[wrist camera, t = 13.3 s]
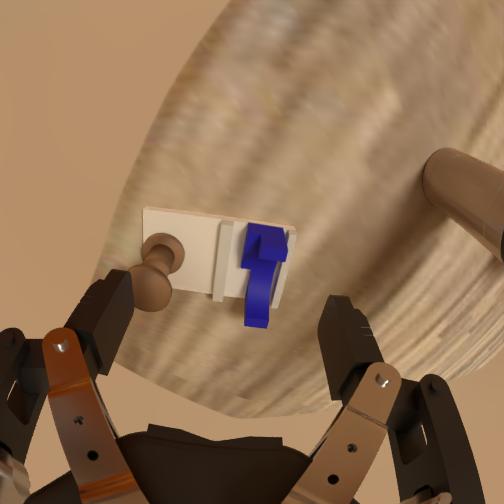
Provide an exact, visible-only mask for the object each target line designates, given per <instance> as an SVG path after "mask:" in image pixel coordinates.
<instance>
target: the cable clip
mask: <svg viewBox="0 0 504 504" xmlns="http://www.w3.org/2000/svg"><path fill="white" fill-rule="evenodd" d="M287 254H288V247H287V243H286V238H285V234H284V230H283V228H282V227H275V226H269V225H263V224H257V223H250V222H248V227H247V232H246V238H245V243H244V248H243V254H242V259H241V268H243V269H250V270H251V271H250V275H249V280H248V285H247V290H246V295H245V316H244V326H249V327H257V328H266V329H267V326H268V322H269V301H270V292H271V286H272V280H273V276H274V272H275V268H276V265H277V263H278V261H280V262H286V258H287Z"/></svg>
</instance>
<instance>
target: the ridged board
mask: <svg viewBox="0 0 504 504" xmlns="http://www.w3.org/2000/svg"><path fill="white" fill-rule="evenodd" d="M248 222H250V223H257V224H263V225H269V226H275V227H282V228H283V230H284V234H285V238H286V243H287V247H288V254H287V258H286V262H280V261H278V263H277V265H276V268H275V272H274V276H273V280H272V286H271V292H270V303H271V308H276V309H278V306H279V302H280V299H281V295H282V291H283V288H284V284H285V281H286V277H287V273H288V269H289V266H290V262H291V258H292V254H293V251H294V247H295V243H296V239H297V233H296V229H295V226H289V225H282V224H276V223H269V222H262V221H256V220H249V219H242V218H235V217H228V216H221V215H213V214H206V213H198V212H191V211H183V210H175V209H167V208H159V207H150V206H146V207H145V208H144V209H143V244H144V243H145V241H146V240H147V238H148V237H149V236H151V235H153V234H155V233H167V234H170V235H172V236H174V237H176V238H177V239H178V240H179V241H180V242H181V244H182V245H183V248H184V251H185V258H184V261H183V264H182V266H181V267H180V269H179V270H178V271H176V272H174V273H172V274H169V275H168V277H167V278H168V279H169V281H170V283H171V286H172V288H174V289H180V290H187V291H194V292H201V293H208V294H213V299H212V301H218V302H223V297H224V296H230V297H238V298H245V295H246V290H247V285H248V280H249V275H250V271H251V270H250V269H243V268H241V259H242V254H243V248H244V243H245V238H246V232H247V227H248Z"/></svg>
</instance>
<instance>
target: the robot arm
mask: <svg viewBox="0 0 504 504" xmlns="http://www.w3.org/2000/svg"><path fill="white" fill-rule="evenodd" d="M423 189H424V192H425V195H426V197H427V199H428V200H429V201H430V202H431V203H432V204H433V205H435V206H436V207H437V208H439V209H440V210H441V211H442V212H444V213H445V214H446V215H447V216H449V217H450V218H451V219H453V220H454V221H455V222H456V223H457V224H459V225H460V226H461V227H462V228H464V229H465V230H466V231H467V232H468V233H470V234H471V235H472V236H473V237H474V238H475V239H477V240H478V241H479V242H480V243H481V244H482V245H483V246H484V247H486V248H487V249H488V250H489V251H490V252H491V253H492V254H493V255H494V256H496V257H497V258H498V259H499V260H500V261H501V262H502V263H503V264H504V171H502V170H500V169H498V168H496V167H494V166H492V165H490V164H487V163H485V162H483V161H481V160H479V159H476V158H474V157H472V156H470V155H467V154H465V153H463V152H460V151H458V150H455V149H452V148H443V149H441V150H438V151H437V152H436V153H434V154H433V155H432V156H431V158H430V159H429V161H428V162H427V164H426V167H425V169H424V174H423ZM134 305H135V302H134V294H133V286H132V277H131V273H130V272H129V271H124V270H117V269H112V270H111V271H110V272H109V274H108V275H107V276H106V278H105V280H101V279H99V280H98V281H96V282H95V283H93V284H92V285H91V286H90V287H89V288H88V290H87V291H86V293H85V294H84V296H83V297H82V299H81V300H80V303H78V305H77V306H76V308H75V309H74V311H73V313H72V314H71V316H70V317H69V319H68V321H67V322H66V324H65V325H64V327H62V328H56V329H53V330H51V331H50V332H49V333H47V334H46V336H45V337H44V339H26V338H25V336H24V334H23V332H22V331H21V330H19V329H17V328H8V329H5V330H3V331H2V332H0V504H360V503H359V502H357V501H356V500H355V499H354V498H353V497H354V495H355V494H356V492H357V490H358V488H359V487H360V485H361V483H362V481H363V480H364V478H365V476H366V474H367V472H368V470H369V468H370V466H371V465H372V463H373V460H374V459H375V457H376V455H377V452H378V450H379V448H380V446H381V444H382V442H383V440H384V437H385V435H386V433H387V431H388V436H389V441H390V445H391V450H392V455H393V461H394V466H395V471H396V478H397V483H398V490H399V496H400V504H485V499H484V495H483V490H482V486H481V482H480V478H479V474H478V470H477V467H476V463H475V460H474V456H473V453H472V450H471V447H470V444H469V440H468V437H467V434H466V431H465V428H464V426H463V423H462V420H461V417H460V415H459V412H458V409H457V406H456V404H455V401H454V399H453V396H452V394H451V391H450V389H449V386H448V385H447V383H446V381H445V380H444V379H443V378H441V377H440V376H438V375H435V374H427V375H425V376H424V377H423V378H422V379H421V380H420V381H419V382H417V381H412V380H407V379H403V378H401V376H400V374H399V372H398V371H397V370H396V369H395V368H394V367H393V366H391V365H389V364H387V363H385V362H384V360H383V357H382V355H381V352H380V350H379V347H378V345H377V342H376V340H375V337H374V336H373V332H372V330H371V329H370V325H369V323H368V321H367V318H366V317H365V316H364V315H363V314H362V312H361V311H360V310H359V309H354V308H353V306H352V303H351V301H350V299H349V297H348V296H340V295H330V296H329V297H328V299H327V302H326V304H325V307H324V310H323V313H322V315H321V318H320V321H319V324H318V340H319V344H320V348H321V353H322V357H323V362H324V366H325V371H326V376H327V380H328V385H329V390H330V395H331V399H332V401H333V400H342V404H343V406H342V407H341V409H340V411H339V412H338V414H337V415H336V417H335V418H334V420H333V421H332V423H331V425H330V426H329V428H328V429H327V431H326V432H325V434H324V435H323V437H322V438H321V440H320V441H319V442H318V444H317V445H316V446H315V448H314V449H313V450H312V452H311V453H310V454H309V455H308V456H307V455H305V454H304V453H302V452H300V451H298V450H296V449H293V448H290V447H287V446H283V443H282V437H252V436H249V437H243V438H236V439H230V440H222V441H212V440H209V439H205V438H203V437H200V436H197V435H195V434H192V433H189V432H186V431H184V430H181V429H176V428H170V427H164V426H159V425H153V424H149V425H148V430H147V431H143V432H135V433H131V434H127V435H125V436H122V437H120V436H119V434H118V432H117V430H116V428H115V427H114V425H113V422H112V420H111V418H110V416H109V414H108V412H107V409H106V407H105V404H104V402H103V399H102V397H101V395H100V392H99V390H98V387H97V384H96V382H95V380H96V377H97V375H98V374H102V375H106V376H107V375H108V373H109V371H110V368H111V366H112V363H113V361H114V358H115V356H116V353H117V351H118V348H119V346H120V344H121V341H122V339H123V336H124V334H125V332H126V329H127V327H128V325H129V323H130V320H131V318H132V316H133V312H134ZM14 381H16V382H15V384H14ZM13 384H14V387H13V389H12V391H11V393H10V396H9V398H8V394H9V392H10V390H11V388H12V385H13ZM47 395H48V400H49V404H50V408H51V411H52V415H53V419H54V422H55V425H56V429H57V432H58V435H59V438H60V441H61V444H62V447H63V450H64V453H65V455H66V458H67V461H68V463H69V466H70V469H71V470H70V471H68V472H67V473H65V474H64V475H62V476H61V477H59V478H57V479H56V480H54V481H52V482H51V483H49V484H47V485H46V486H44V487H43V488H41V489H39V490H38V491H36V492H34V493H32V494H30V492H29V488H30V481H29V476H28V472H27V470H26V468H25V467H24V463H25V459H26V455H27V452H28V448H29V445H30V442H31V439H32V436H33V433H34V430H35V427H36V423H37V421H38V418H39V415H40V412H41V409H42V407H43V404H44V401H45V399H46V396H47ZM7 398H8V400H7ZM421 425H423V428H424V431H425V435H426V438H427V445H426V441H425V438H424V434H423V430H422V427H421Z"/></svg>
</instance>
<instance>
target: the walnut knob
mask: <svg viewBox="0 0 504 504" xmlns="http://www.w3.org/2000/svg"><path fill="white" fill-rule="evenodd" d="M141 255H142V259H143V261H144V262H143V264H142V265H136V266H133V267H131V268H130V269H129V270H128V271H129V272H130V273H131V277H132V286H133V294H134V302H135V305H134V307H136V308H137V309H140V310H142V311H146V312H157V311H160V310H162V309H164V308H165V307H166V306H167V305H168V303H169V301H170V298H171V295H172V286H171V283H170V281H169V279H168V278H167V277H168V275H169V274H172V273H174V272H176V271H178V270H179V269H180V267H181V266H182V264H183V261H184V258H185V251H184V248H183V245H182V244H181V242H180V241H179V240H178V239H177V238H176V237H174V236H172V235H170V234H167V233H155V234H153V235H151V236H149V237H148V238H147V240H146V241H145V243H144V244H143V246H142V250H141Z"/></svg>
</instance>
